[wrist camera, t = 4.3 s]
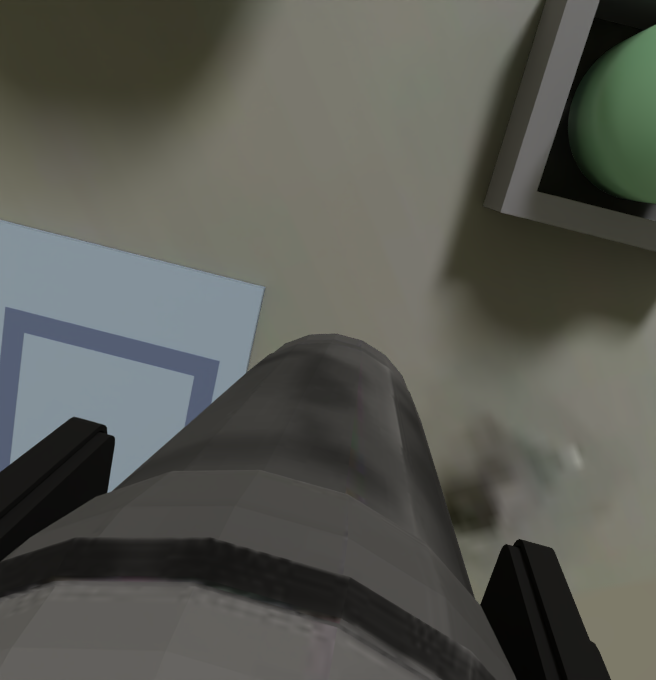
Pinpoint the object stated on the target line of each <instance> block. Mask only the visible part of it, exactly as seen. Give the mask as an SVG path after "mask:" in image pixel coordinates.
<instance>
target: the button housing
mask: <svg viewBox="0 0 656 680" xmlns="http://www.w3.org/2000/svg"><path fill="white" fill-rule="evenodd" d="M594 17H595V18H599V19H603V20H607V21H611V22H615V23H619V24H623V25H627V26H631V27H635V28H639V29H642V30H646V29H648V28H650V27H652V26H654V25H656V0H546V2H545V6H544V9H543V12H542V16H541V19H540V22H539V25H538V29H537V32H536V35H535V38H534V42H533V45H532V48H531V51H530V55H529V58H528V61H527V64H526V68H525V71H524V74H523V77H522V81H521V84H520V87H519V90H518V94H517V97H516V100H515V103H514V107H513V110H512V113H511V116H510V120H509V123H508V126H507V129H506V133H505V136H504V139H503V142H502V146H501V149H500V152H499V155H498V159H497V162H496V165H495V169H494V172H493V175H492V178H491V182H490V185H489V188H488V191H487V195H486V198H485V201H484V204H483V206H484V207H487V208H490V209H493V210H496V211H498V212H501V213H505V214H509V215H513V216H517V217H521V218H525V219H529V220H533V221H537V222H541V223H545V224H549V225H553V226H557V227H561V228H565V229H568V230H572V231H576V232H580V233H584V234H588V235H592V236H596V237H600V238H604V239H608V240H612V241H616V242H620V243H624V244H628V245H632V246H636V247H639V248H643V249H647V250H651V251H655V252H656V221H652V220H648V219H644V218H640V217H636V216H632V215H628V214H624V213H621V212H617V211H613V210H609V209H605V208H601V207H597V206H593V205H589V204H585V203H581V202H577V201H573V200H569V199H565V198H561V197H557V196H553V195H549V194H546V193H542V192H538V191H537V189H538V186H539V183H540V180H541V177H542V174H543V171H544V168H545V165H546V162H547V159H548V156H549V153H550V150H551V147H552V144H553V140H554V137H555V134H556V131H557V128H558V125H559V122H560V119H561V116H562V113H563V110H564V107H565V104H566V101H567V98H568V95H569V92H570V89H571V86H572V83H573V80H574V77H575V74H576V71H577V68H578V64H579V61H580V58H581V55H582V52H583V49H584V46H585V43H586V40H587V37H588V34H589V31H590V28H591V25H592V22H593V19H594Z"/></svg>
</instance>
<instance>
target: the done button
mask: <svg viewBox="0 0 656 680" xmlns="http://www.w3.org/2000/svg"><path fill="white" fill-rule="evenodd" d="M568 137H569V144H570V148H571V152H572V155H573V157H574V160H575V162H576V164H577V166H578V167H579V169H580V171H581V172H582V173H583V174H584V176H585V177H586V178H587V179H588V180H589V181H590V182H591V183H592V184H593V185H594V186H595V187H597V188H598V189H600V190H601V191H603V192H605V193H607V194H609V195H611V196H614V197H617V198H620V199H624V200H630V201H637V202H644V203H652V204H656V25H654V26H652V27H650V28H648V29H646V30H644V31H642V32H640V33H638V34H636V35H634V36H632V37H630V38H628V39H626V40H624V41H622V42H620V43H619V44H617V45H615V46H614V47H612V48H611V49H609V50H608V51H606V52H605V53H604V54H603V55H602V56H601V57H600V58H599V59H597V60H596V62H595V63H594V64H593V65H592V66H591V67H590V68H589V70H588V71H587V72H586V74H585V75H584V77H583V78H582V80H581V82H580V84H579V86H578V87H577V89H576V92H575V94H574V97H573V99H572V103H571V107H570V111H569V118H568Z"/></svg>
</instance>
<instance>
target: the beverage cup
mask: <svg viewBox="0 0 656 680" xmlns="http://www.w3.org/2000/svg"><path fill="white" fill-rule="evenodd" d="M0 680H517V679H516V677H515V675H514V673H513V671H512V669H511V667H510V665H509V663H508V661H507V659H506V657H505V654H504V652H503V650H502V648H501V646H500V644H499V642H498V640H497V638H496V636H495V634H494V632H493V630H492V628H491V626H490V624H489V622H488V620H487V618H486V616H485V614H484V612H483V609H482V607H481V606H480V604H479V603H478V602H477V601H476V600H475V598H474V594H473V591H472V588H471V584H470V581H469V578H468V575H467V571H466V568H465V565H464V561H463V558H462V555H461V552H460V548H459V545H458V542H457V538H456V535H455V532H454V528H453V525H452V522H451V519H450V515H449V512H448V509H447V505H446V502H445V499H444V496H443V492H442V489H441V486H440V482H439V479H438V476H437V472H436V469H435V466H434V463H433V459H432V456H431V453H430V449H429V446H428V443H427V440H426V436H425V433H424V430H423V426H422V423H421V420H420V417H419V415H418V412H417V410H416V407H415V405H414V402H413V400H412V397H411V394H410V392H409V391H408V389H407V387H406V384H405V381H404V379H403V376H402V375H401V373H400V372H399V371H398V370H397V369H396V367H395V366H394V365H393V364H392V363H391V361H390V360H389V359H388V358H387V357H386V355H384V354H383V353H381V352H379V351H378V350H376V349H375V348H373V347H372V346H370V345H368V344H367V343H365V342H364V341H362V340H358V339H354V338H351V337H347V336H343V335H339V334H315V335H307V336H305V337H302V338H299V339H297V340H294V341H291V342H288V343H286V344H284V345H283V346H282V347H280V348H279V349H278V350H277V351H275V352H274V353H272V354H269V355H268V356H267V357H265V358H264V359H263V360H262V361H260V362H259V363H258V364H257V365H255V366H254V367H253V368H252V369H250V370H249V371H248V372H247V373H246V374H244V375H243V376H242V377H241V378H240V379H239V380H238V381H236V382H235V383H234V384H233V385H232V386H231V387H230V388H228V389H227V390H226V391H225V392H224V393H223V394H222V395H221V396H219V397H218V398H217V399H216V400H215V401H214V402H213V403H211V404H210V405H209V406H208V407H207V408H206V409H205V410H203V411H202V412H201V413H200V414H199V415H198V416H197V417H196V418H194V419H193V420H192V421H191V422H190V423H189V424H188V425H186V426H185V427H184V428H183V429H182V430H181V431H180V432H178V433H177V434H176V435H175V436H174V437H173V438H172V439H171V440H169V441H168V442H167V443H166V444H165V445H164V446H163V447H161V448H160V449H159V450H158V451H157V452H156V453H155V454H153V455H152V456H151V457H150V458H149V459H148V460H147V461H146V462H144V463H143V464H142V465H141V466H140V467H139V468H138V469H136V470H135V471H134V472H133V473H132V474H131V475H130V476H128V477H127V478H126V479H125V480H124V481H123V482H122V483H121V484H119V485H118V486H117V487H116V488H115V489H114V490H113V491H111V492H109V493H106V494H103V495H100V496H97V497H95V498H93V499H92V500H90V501H88V502H87V503H85V504H83V505H82V506H80V507H79V508H77V509H75V510H74V511H72V512H71V513H69V514H67V515H66V516H64V517H62V518H61V519H59V520H58V521H56V522H54V523H53V524H51V525H50V526H48V527H46V528H45V529H43V530H42V531H40V532H38V533H37V534H35V535H33V536H32V537H30V538H29V539H28V540H27V541H25V542H24V543H23V544H22V545H20V546H19V547H18V548H17V549H15V550H14V551H13V552H12V553H10V554H9V555H8V556H7V557H6V558H4V559H3V560H2V561H1V562H0Z"/></svg>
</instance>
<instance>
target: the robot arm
mask: <svg viewBox="0 0 656 680" xmlns="http://www.w3.org/2000/svg"><path fill="white" fill-rule="evenodd" d="M114 447H115V437H114V436H112V435H109V434H107V427H106V425H103V424H100V423H96V422H93V421H89V420H85V419H82V418H78V417H72V418H70V419H69V420H67V421H66V422H65V423H63V424H62V425H61V426H60V427H58V428H57V429H56V430H54V431H53V432H52V433H50V434H49V435H48V436H47V437H45V438H44V439H43V440H41V441H40V442H39V443H37V444H36V445H35V446H33V447H32V448H31V449H30V450H28V451H27V452H26V453H24V454H23V455H22V456H20V457H19V458H18V459H16V460H15V461H14V462H13V463H11V464H10V465H9V466H7V467H6V468H5V469H3V470H2V471H1V472H0V562H1V561H2V560H3V559H4V558H6V557H7V556H8V555H9V554H10V553H12V552H13V551H14V550H15V549H17V548H18V547H19V546H20V545H22V544H23V543H24V542H25V541H27V540H28V539H29V538H30V537H32V536H33V535H35V534H37V533H38V532H40V531H42V530H43V529H45V528H46V527H48V526H50V525H51V524H53V523H54V522H56V521H58V520H59V519H61V518H62V517H64V516H66V515H67V514H69V513H71V512H72V511H74V510H75V509H77V508H79V507H80V506H82V505H83V504H85V503H87V502H88V501H90V500H92V499H93V498H95V497H97V496H100V495H103V494H106V493H107V492H108V486H109V479H110V473H111V466H112V460H113V454H114ZM480 606H481V607H482V609H483V612H484V614H485V616H486V618H487V620H488V622H489V624H490V626H491V628H492V630H493V632H494V634H495V636H496V638H497V640H498V642H499V644H500V646H501V648H502V650H503V652H504V654H505V657H506V659H507V661H508V663H509V665H510V667H511V669H512V671H513V673H514V675H515V677H516V679H517V680H611V679H610V676H609V674H608V671H607V669H606V667H605V664H604V661H603V659H602V657H601V654H600V652H599V650H598V648H597V647H596V645H595V644H594V643H593V642H591V641H590V639H589V637H588V634H587V632H586V629H585V627H584V625H583V622H582V619H581V617H580V615H579V612H578V609H577V607H576V604H575V602H574V599H573V597H572V594H571V592H570V589H569V587H568V584H567V582H566V579H565V577H564V574H563V572H562V569H561V567H560V564H559V562H558V559H557V557H556V554H555V552H554V550H553V549H552V548H550V547H546V546H543V545H539V544H535V543H532V542H528V541H524V540H521V539H519V540H517V541H516V542H515V543H514V545H513V546H511V545H507V544H506V545H504V546H503V547H502V549H501V551H500V554H499V557H498V559H497V562H496V565H495V567H494V570H493V573H492V575H491V578H490V580H489V583H488V586H487V588H486V591H485V594H484V596H483V599H482V602H481V604H480Z"/></svg>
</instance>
